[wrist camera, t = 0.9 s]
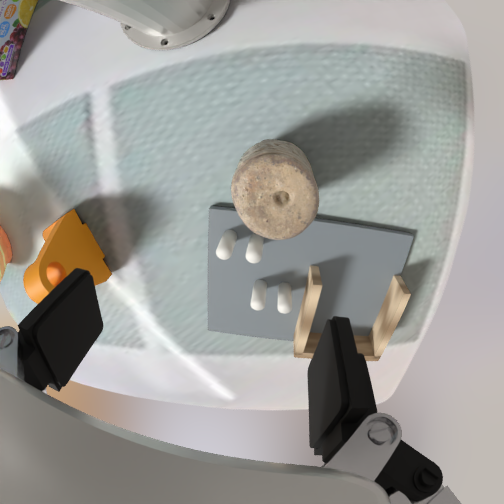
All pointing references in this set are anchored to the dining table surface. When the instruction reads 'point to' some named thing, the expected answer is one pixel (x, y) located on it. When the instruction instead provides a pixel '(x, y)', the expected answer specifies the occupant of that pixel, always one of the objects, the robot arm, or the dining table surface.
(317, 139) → the dining table surface
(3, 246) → the potted cactus
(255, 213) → the carving
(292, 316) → the board
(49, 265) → the bracket
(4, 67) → the snack box
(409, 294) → the end holder
